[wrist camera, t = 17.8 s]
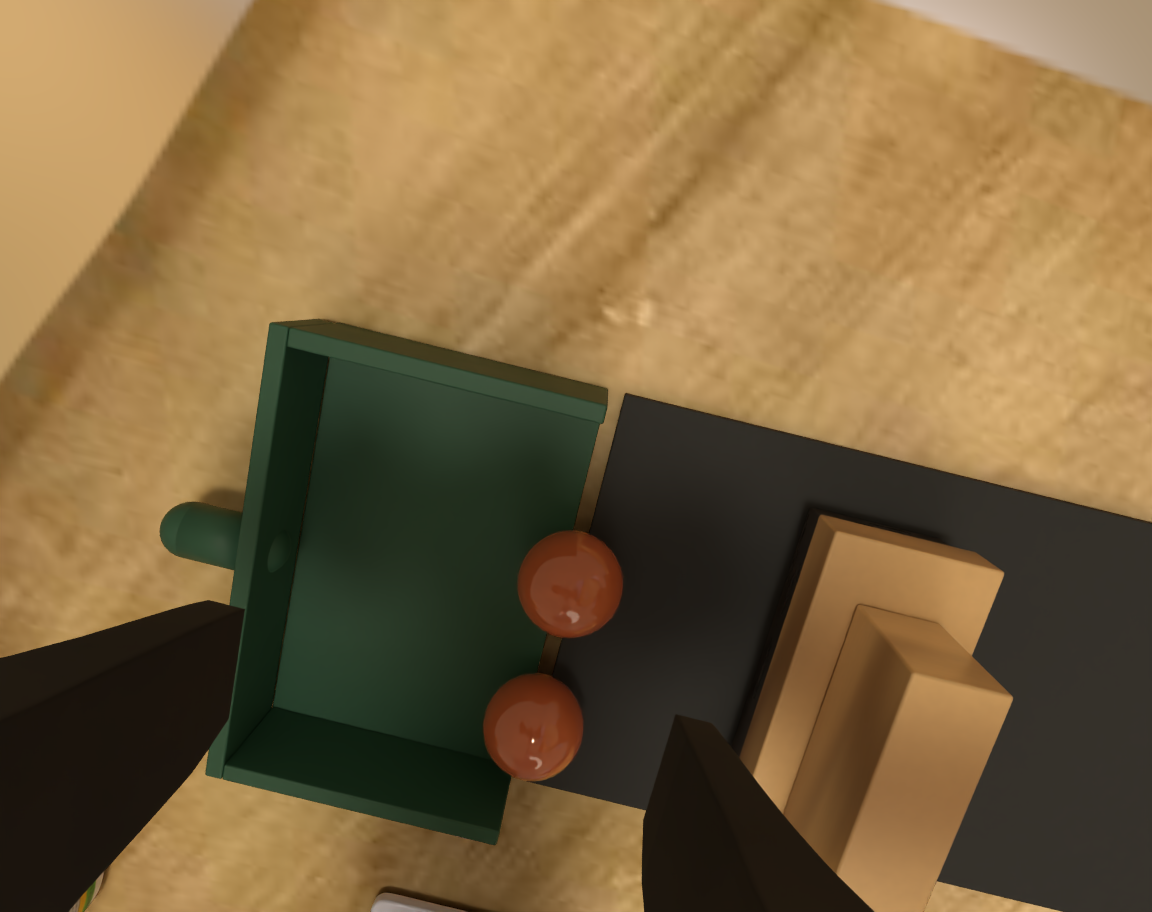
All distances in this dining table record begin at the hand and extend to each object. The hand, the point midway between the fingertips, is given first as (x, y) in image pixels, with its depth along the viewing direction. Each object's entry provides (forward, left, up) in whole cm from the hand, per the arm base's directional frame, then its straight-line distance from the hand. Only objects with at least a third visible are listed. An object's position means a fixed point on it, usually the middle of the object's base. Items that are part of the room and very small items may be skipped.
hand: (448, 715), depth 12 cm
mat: (-2, -15, -10) cm, 19 cm away
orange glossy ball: (-1, -2, -9) cm, 9 cm away
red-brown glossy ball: (-6, -2, -9) cm, 10 cm away
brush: (-2, -10, -10) cm, 14 cm away
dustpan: (-2, +4, -10) cm, 11 cm away
